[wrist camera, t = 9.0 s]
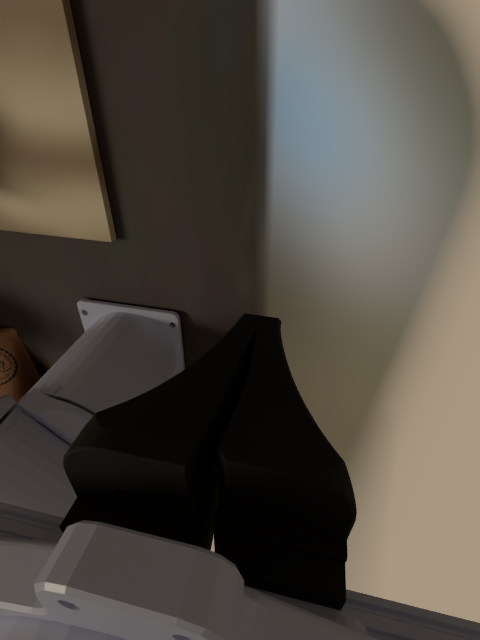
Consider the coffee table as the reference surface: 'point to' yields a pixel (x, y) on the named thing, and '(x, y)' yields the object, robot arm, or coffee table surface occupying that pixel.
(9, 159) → the base board
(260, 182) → the coffee table surface
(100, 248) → the coffee table surface
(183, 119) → the coffee table surface
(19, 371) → the sunglasses case
